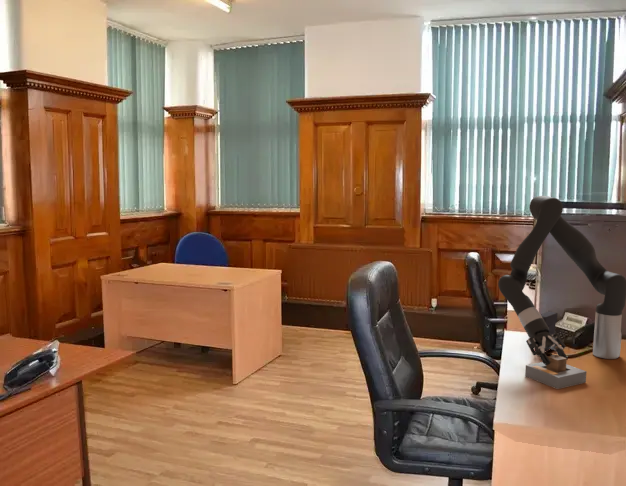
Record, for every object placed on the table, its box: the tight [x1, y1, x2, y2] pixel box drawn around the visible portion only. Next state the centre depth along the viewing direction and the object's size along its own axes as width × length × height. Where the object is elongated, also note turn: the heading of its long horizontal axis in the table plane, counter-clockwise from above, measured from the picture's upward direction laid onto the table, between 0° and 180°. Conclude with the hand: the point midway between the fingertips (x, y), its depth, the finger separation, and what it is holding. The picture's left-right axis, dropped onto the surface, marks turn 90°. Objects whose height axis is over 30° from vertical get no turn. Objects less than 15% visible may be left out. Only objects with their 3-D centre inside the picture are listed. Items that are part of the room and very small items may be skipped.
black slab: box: [534, 311, 558, 353], centre depth 245 cm, size 11×4×15 cm, turn 134°
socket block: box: [524, 361, 587, 390], centre depth 212 cm, size 14×14×4 cm
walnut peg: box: [546, 355, 568, 373], centre depth 211 cm, size 4×4×8 cm
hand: (556, 362), depth 211 cm, fingers open, 8 cm apart
